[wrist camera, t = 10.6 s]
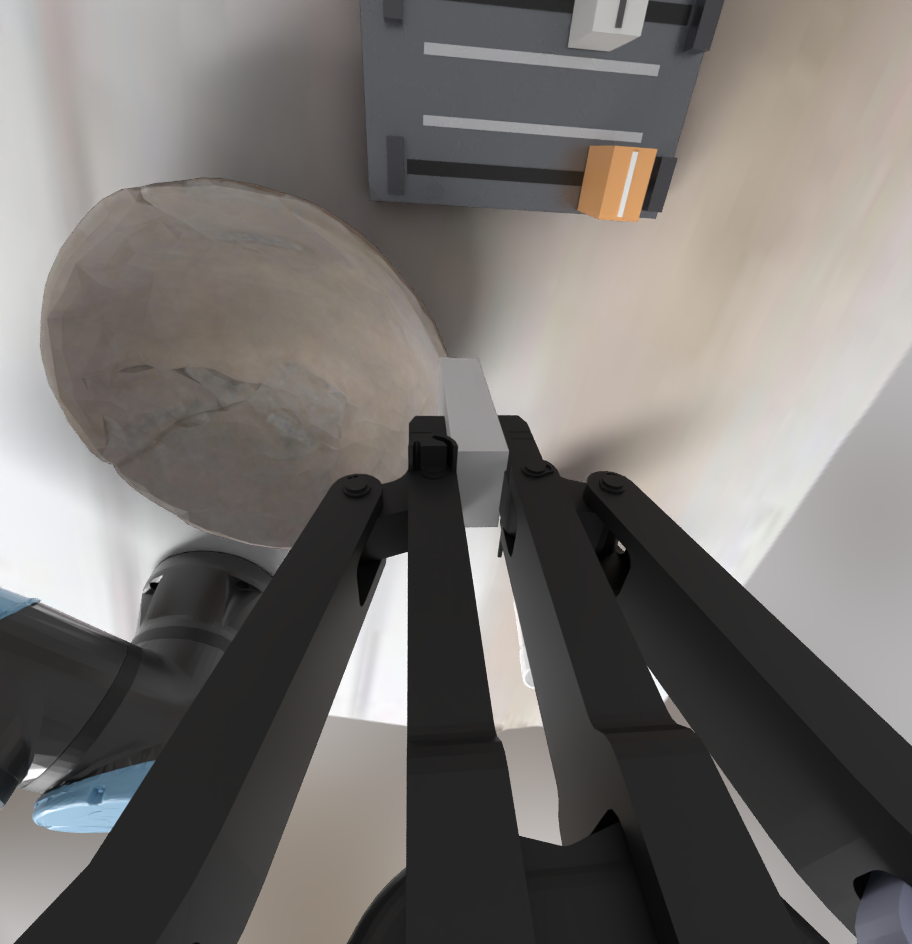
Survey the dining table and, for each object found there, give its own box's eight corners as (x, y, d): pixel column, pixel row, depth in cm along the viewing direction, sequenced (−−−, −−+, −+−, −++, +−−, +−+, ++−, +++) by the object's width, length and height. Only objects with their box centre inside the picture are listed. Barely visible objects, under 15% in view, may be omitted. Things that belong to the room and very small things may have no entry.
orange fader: (577, 210, 30) (599, 219, 27) (589, 145, 28) (615, 145, 24) (612, 212, 30) (638, 221, 27) (627, 148, 28) (658, 149, 25)
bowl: (212, 495, 46) (169, 570, 38) (39, 198, 30) (-101, 218, 22) (463, 463, 45) (472, 532, 37) (424, 146, 29) (426, 146, 21)
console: (372, 197, 31) (367, 202, 28) (360, -64, 24) (353, -89, 21) (644, 215, 33) (663, 221, 30) (709, -23, 25) (741, -41, 23)
